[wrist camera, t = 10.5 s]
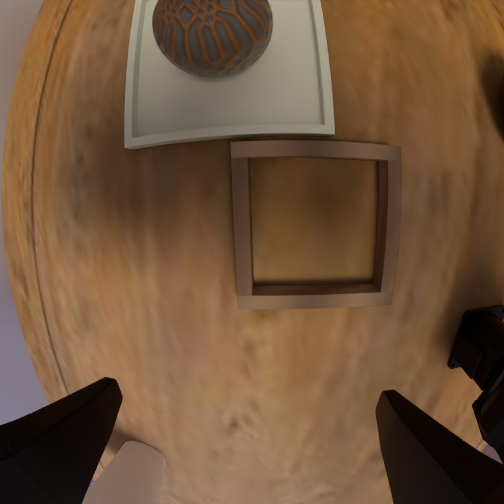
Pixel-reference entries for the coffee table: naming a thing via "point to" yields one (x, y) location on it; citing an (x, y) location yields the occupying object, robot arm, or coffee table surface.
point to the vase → (212, 34)
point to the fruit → (502, 94)
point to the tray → (232, 86)
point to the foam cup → (130, 477)
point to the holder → (317, 294)
